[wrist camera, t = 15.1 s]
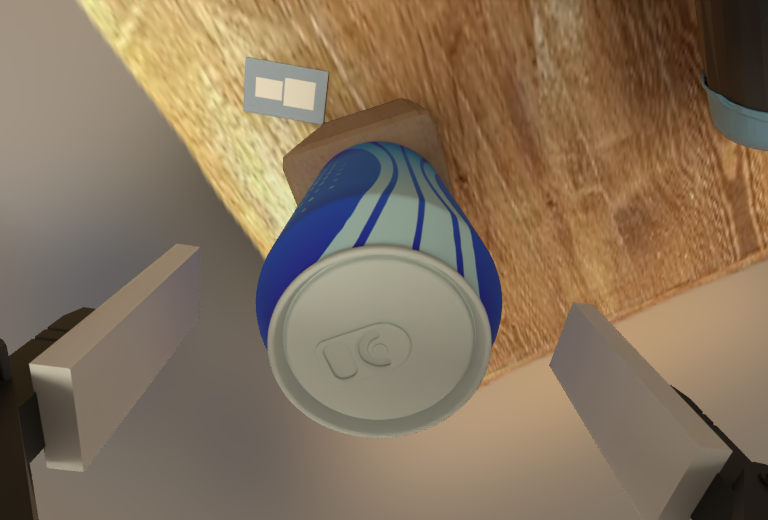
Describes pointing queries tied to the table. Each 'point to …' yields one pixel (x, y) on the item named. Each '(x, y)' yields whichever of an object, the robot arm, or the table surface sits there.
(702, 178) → the table surface
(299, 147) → the block
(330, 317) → the beer can
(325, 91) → the card
